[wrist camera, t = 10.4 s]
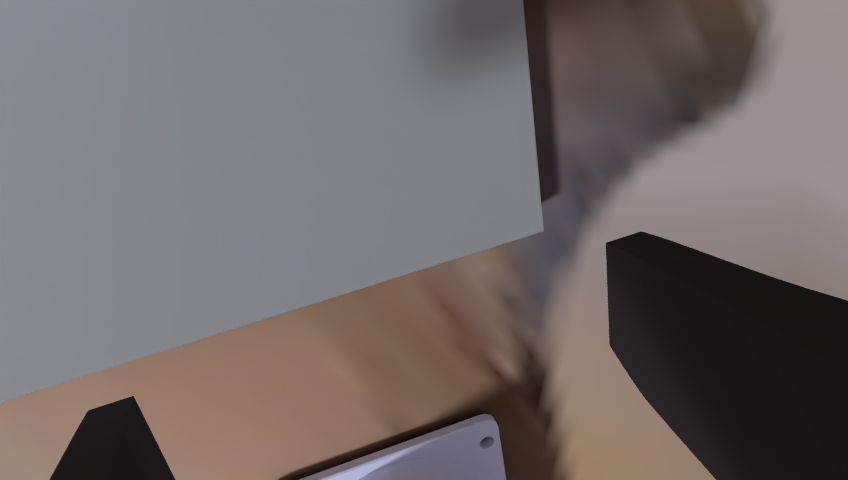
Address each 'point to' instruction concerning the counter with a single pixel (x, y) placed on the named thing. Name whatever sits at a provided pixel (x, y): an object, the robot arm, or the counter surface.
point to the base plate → (243, 163)
